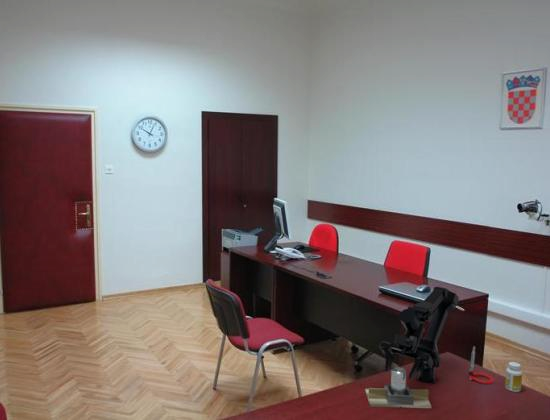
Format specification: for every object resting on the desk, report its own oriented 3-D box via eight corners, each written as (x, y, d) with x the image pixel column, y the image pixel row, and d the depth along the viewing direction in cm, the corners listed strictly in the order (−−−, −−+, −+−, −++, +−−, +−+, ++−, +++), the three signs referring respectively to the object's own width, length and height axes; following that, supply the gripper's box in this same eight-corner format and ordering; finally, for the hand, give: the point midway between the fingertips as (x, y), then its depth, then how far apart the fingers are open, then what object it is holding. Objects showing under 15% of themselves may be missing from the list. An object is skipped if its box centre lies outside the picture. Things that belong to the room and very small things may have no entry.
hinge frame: (365, 391, 179) (365, 379, 178) (422, 393, 178) (423, 381, 178) (370, 406, 168) (370, 394, 167) (431, 408, 167) (431, 395, 167)
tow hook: (494, 378, 192) (469, 372, 196) (497, 347, 191) (472, 342, 194) (493, 387, 185) (467, 381, 188) (497, 355, 183) (471, 349, 187)
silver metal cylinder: (405, 395, 173) (405, 368, 172) (405, 402, 169) (406, 374, 167) (390, 394, 175) (391, 366, 173) (390, 401, 170) (391, 373, 168)
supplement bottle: (522, 388, 183) (524, 364, 182) (518, 393, 179) (520, 368, 178) (507, 384, 186) (509, 359, 185) (503, 388, 182) (504, 364, 181)
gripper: (382, 319, 178) (366, 357, 171) (431, 331, 166) (416, 373, 159) (391, 334, 185) (376, 371, 178) (439, 347, 173) (425, 387, 166)
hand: (397, 375), depth 170 cm, fingers open, 8 cm apart
